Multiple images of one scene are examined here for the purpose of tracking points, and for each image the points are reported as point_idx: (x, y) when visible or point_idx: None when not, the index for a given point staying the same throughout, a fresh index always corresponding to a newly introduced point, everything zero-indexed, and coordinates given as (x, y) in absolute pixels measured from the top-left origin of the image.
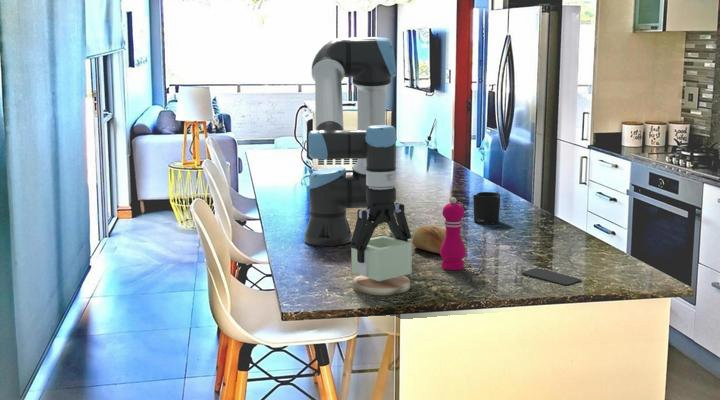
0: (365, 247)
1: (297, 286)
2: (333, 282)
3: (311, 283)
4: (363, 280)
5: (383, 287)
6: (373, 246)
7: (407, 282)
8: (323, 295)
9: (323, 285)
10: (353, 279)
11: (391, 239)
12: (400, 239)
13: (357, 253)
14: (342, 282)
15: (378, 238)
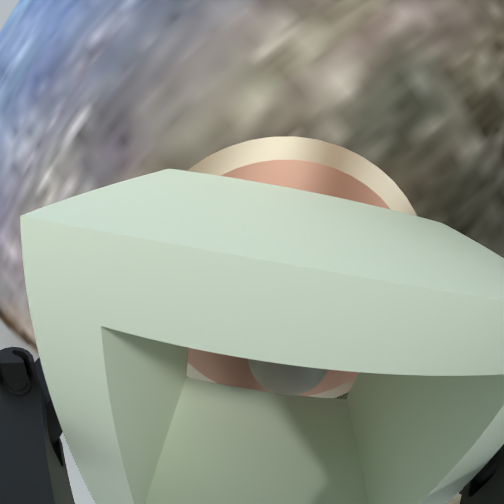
0: (57, 456)
1: (50, 14)
2: (177, 50)
3: (106, 5)
4: None
5: (199, 369)
6: (126, 494)
7: (335, 389)
8: (30, 177)
9: (112, 59)
10: (203, 160)
11: (458, 466)
12: (469, 487)
13: (36, 364)
14: (208, 81)
15: (473, 375)
